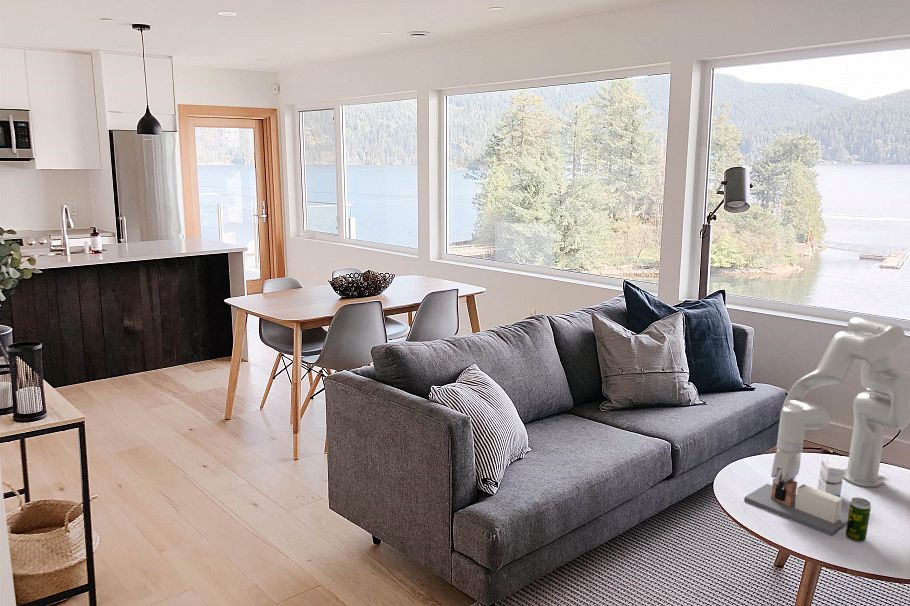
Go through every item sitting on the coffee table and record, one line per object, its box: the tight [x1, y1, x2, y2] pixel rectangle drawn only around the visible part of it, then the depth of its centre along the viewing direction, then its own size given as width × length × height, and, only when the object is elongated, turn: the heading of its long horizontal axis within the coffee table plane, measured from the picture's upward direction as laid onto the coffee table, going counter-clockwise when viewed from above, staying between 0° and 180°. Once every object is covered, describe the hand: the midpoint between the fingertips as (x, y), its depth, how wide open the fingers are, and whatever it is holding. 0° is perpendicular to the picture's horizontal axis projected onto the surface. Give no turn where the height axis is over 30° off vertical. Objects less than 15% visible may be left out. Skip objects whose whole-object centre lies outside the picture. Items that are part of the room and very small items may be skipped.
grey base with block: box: [743, 483, 849, 537], centre depth 235 cm, size 15×28×9 cm, turn 41°
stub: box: [771, 477, 798, 506], centre depth 239 cm, size 4×6×7 cm, turn 41°
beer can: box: [845, 497, 872, 544], centre depth 219 cm, size 5×5×12 cm
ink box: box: [817, 457, 845, 498], centre depth 245 cm, size 8×5×12 cm, turn 168°
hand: (783, 496), depth 239 cm, fingers closed on stub, 4 cm apart
